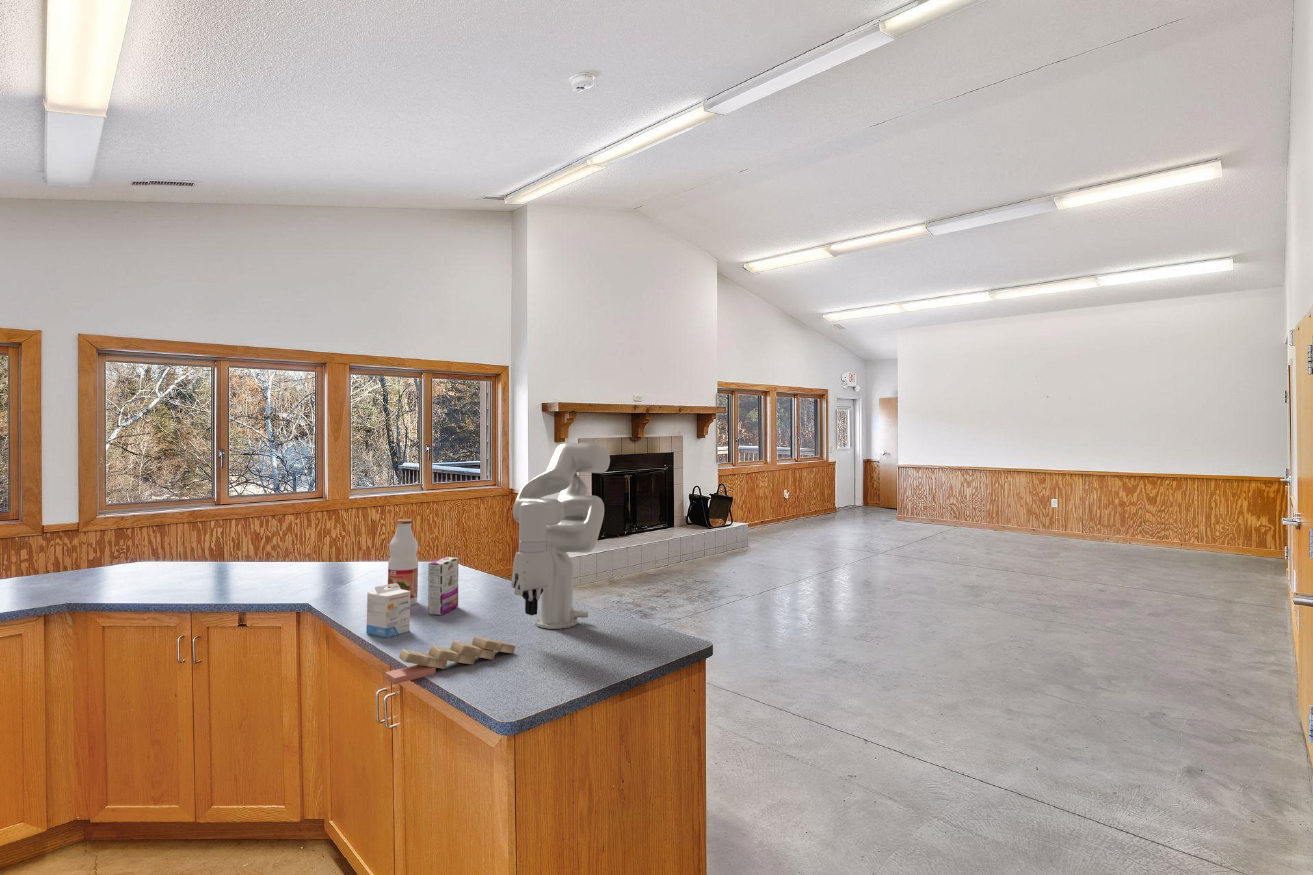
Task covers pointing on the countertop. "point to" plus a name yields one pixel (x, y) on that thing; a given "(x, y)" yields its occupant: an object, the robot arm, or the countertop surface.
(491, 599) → the countertop surface
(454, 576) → the candy bar box
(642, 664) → the countertop surface
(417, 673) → the domino
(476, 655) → the domino
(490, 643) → the domino
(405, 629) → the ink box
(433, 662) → the domino
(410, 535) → the fruit juice
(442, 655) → the domino
